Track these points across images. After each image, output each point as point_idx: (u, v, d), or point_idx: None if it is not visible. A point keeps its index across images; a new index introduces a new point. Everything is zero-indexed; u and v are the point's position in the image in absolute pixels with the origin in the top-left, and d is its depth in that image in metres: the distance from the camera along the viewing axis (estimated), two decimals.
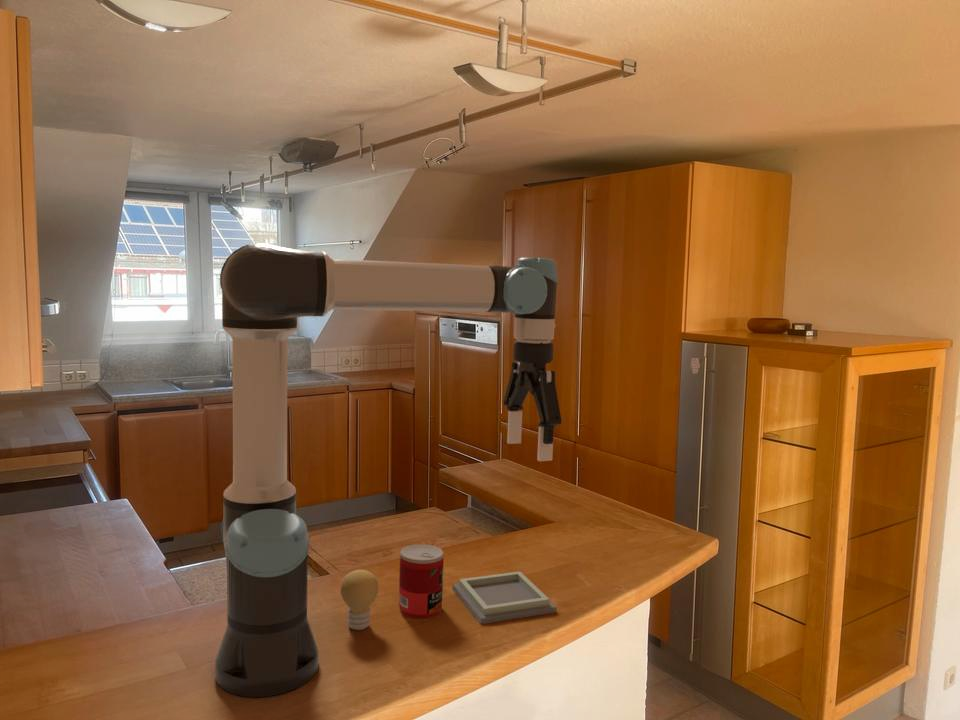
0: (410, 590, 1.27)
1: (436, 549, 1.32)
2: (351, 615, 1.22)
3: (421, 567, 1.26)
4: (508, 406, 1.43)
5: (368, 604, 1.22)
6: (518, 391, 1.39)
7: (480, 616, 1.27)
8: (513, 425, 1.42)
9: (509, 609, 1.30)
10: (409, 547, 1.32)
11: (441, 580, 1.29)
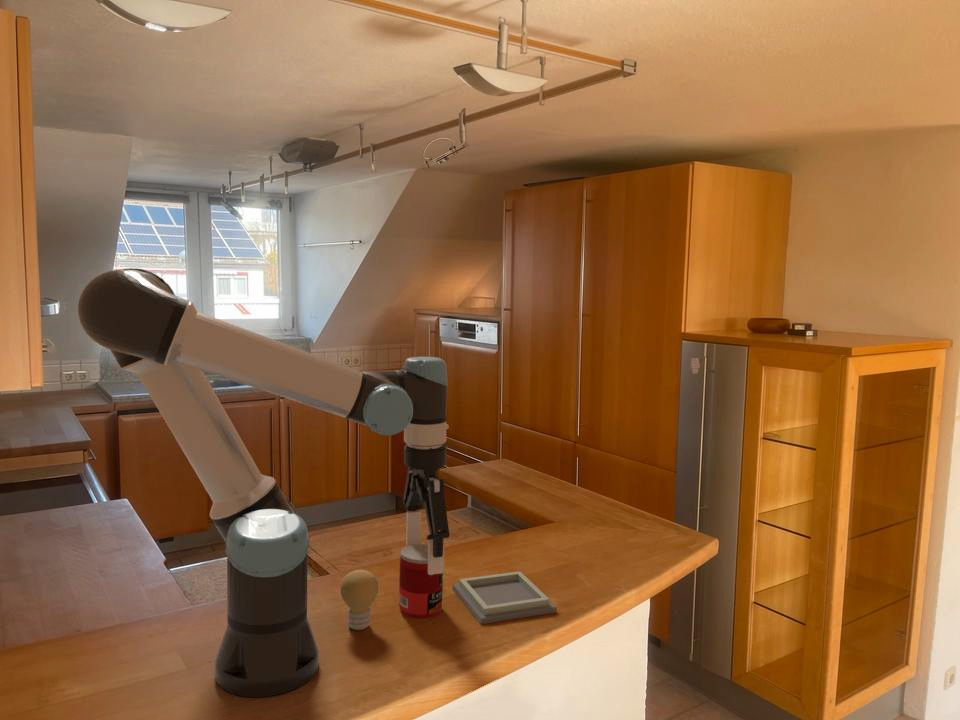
0: (410, 590, 1.27)
1: None
2: (351, 615, 1.22)
3: (421, 567, 1.26)
4: (406, 506, 1.36)
5: (368, 604, 1.22)
6: (413, 493, 1.32)
7: (480, 616, 1.27)
8: (411, 526, 1.36)
9: (509, 609, 1.30)
10: (409, 547, 1.32)
11: (441, 580, 1.29)
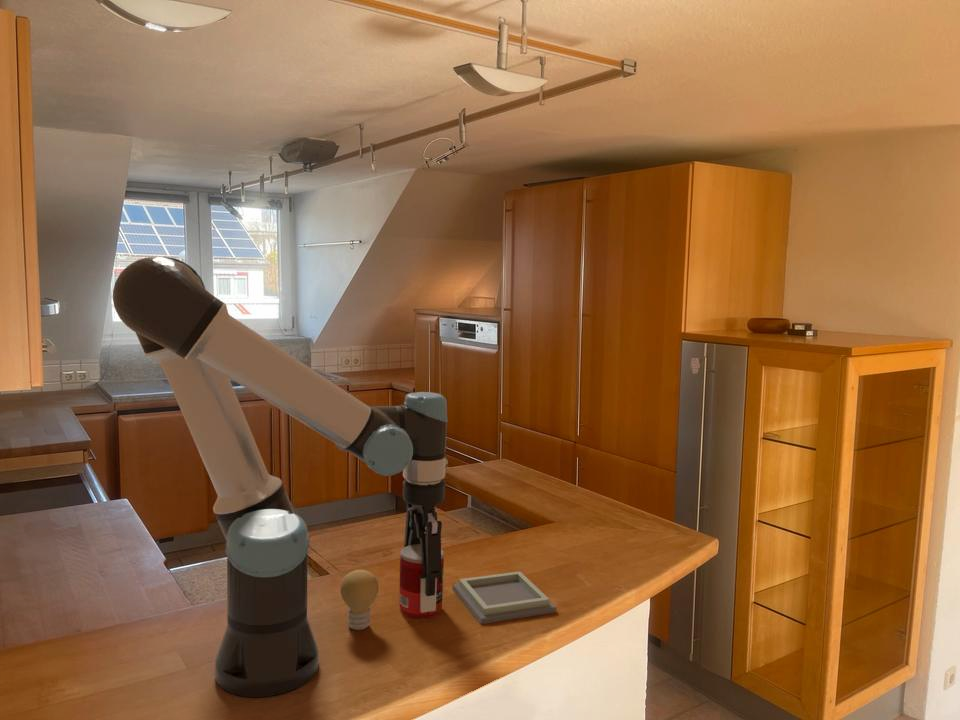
0: (410, 590, 1.27)
1: None
2: (351, 615, 1.22)
3: (421, 567, 1.26)
4: None
5: (368, 604, 1.22)
6: (413, 532, 1.32)
7: (480, 616, 1.27)
8: None
9: (509, 609, 1.30)
10: (409, 547, 1.32)
11: (441, 580, 1.29)
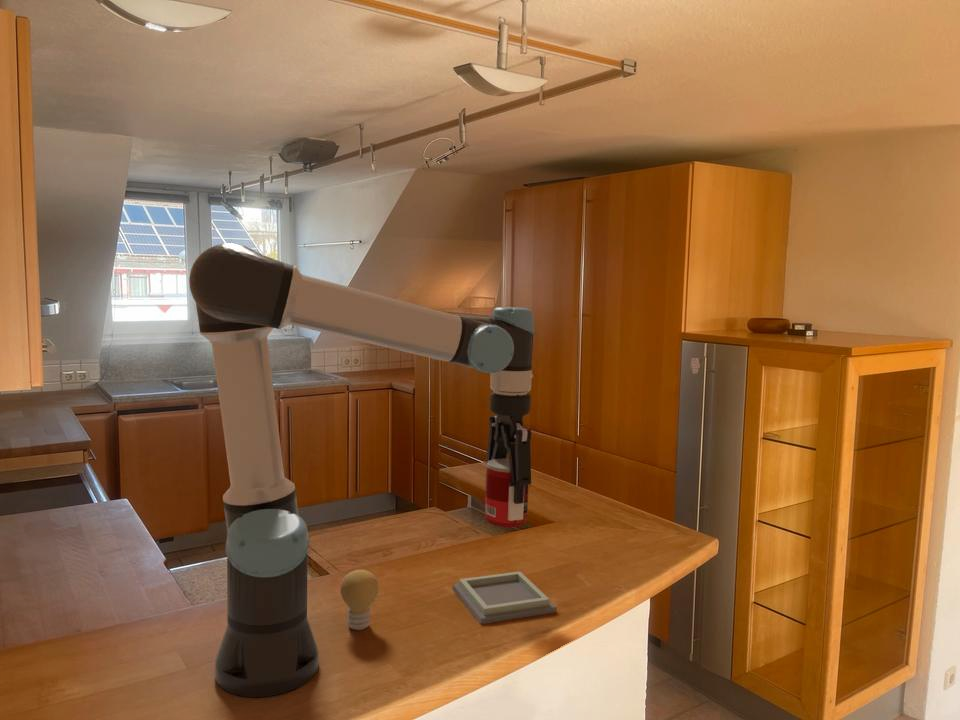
0: (498, 499, 1.30)
1: None
2: (351, 615, 1.22)
3: (509, 476, 1.29)
4: None
5: (368, 604, 1.22)
6: (498, 445, 1.35)
7: (480, 616, 1.27)
8: None
9: (509, 609, 1.30)
10: (494, 460, 1.35)
11: (527, 490, 1.32)
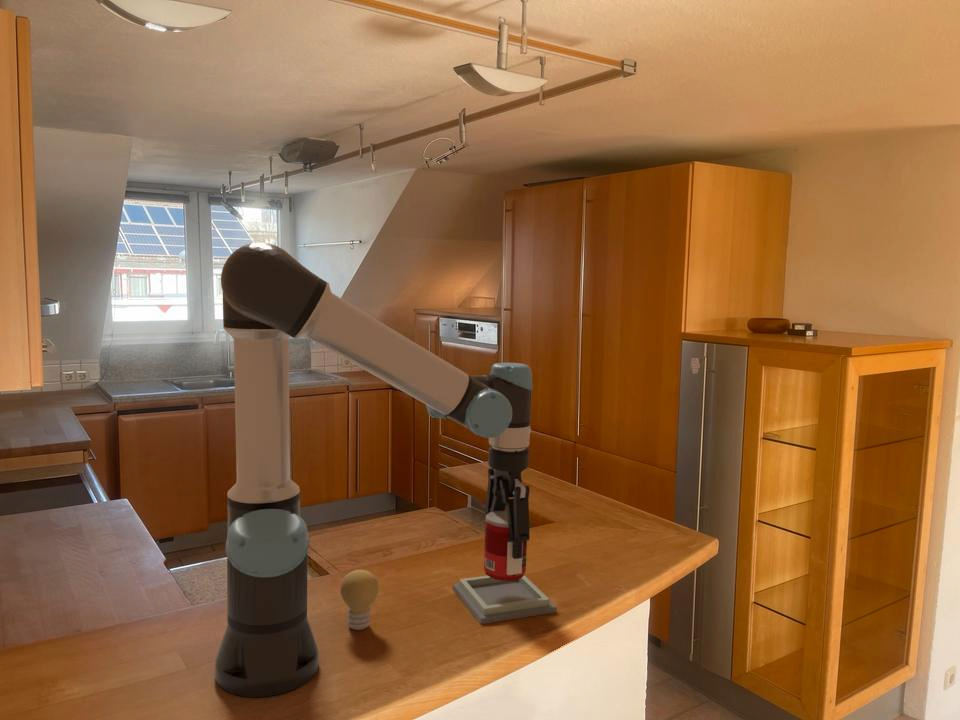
0: (497, 553, 1.32)
1: None
2: (351, 615, 1.22)
3: (508, 531, 1.31)
4: None
5: (368, 604, 1.22)
6: (497, 499, 1.36)
7: (480, 616, 1.27)
8: None
9: (509, 609, 1.30)
10: (493, 513, 1.37)
11: (526, 544, 1.34)
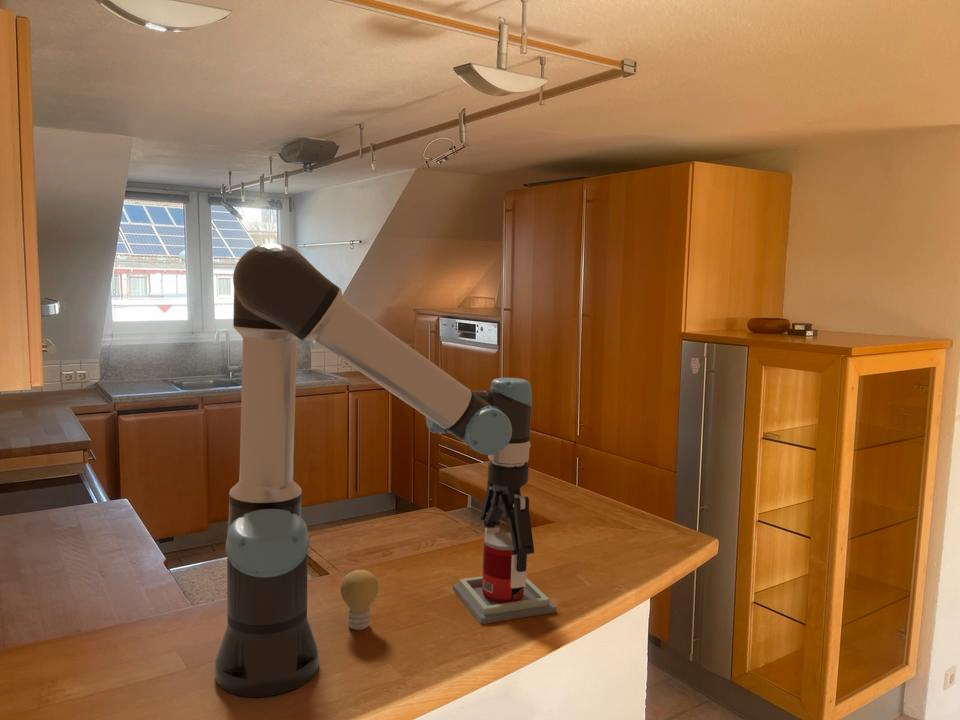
0: (495, 576, 1.32)
1: None
2: (351, 615, 1.22)
3: (506, 554, 1.31)
4: (485, 522, 1.41)
5: (368, 604, 1.22)
6: (494, 509, 1.37)
7: (480, 616, 1.27)
8: None
9: (509, 609, 1.30)
10: (491, 535, 1.37)
11: None
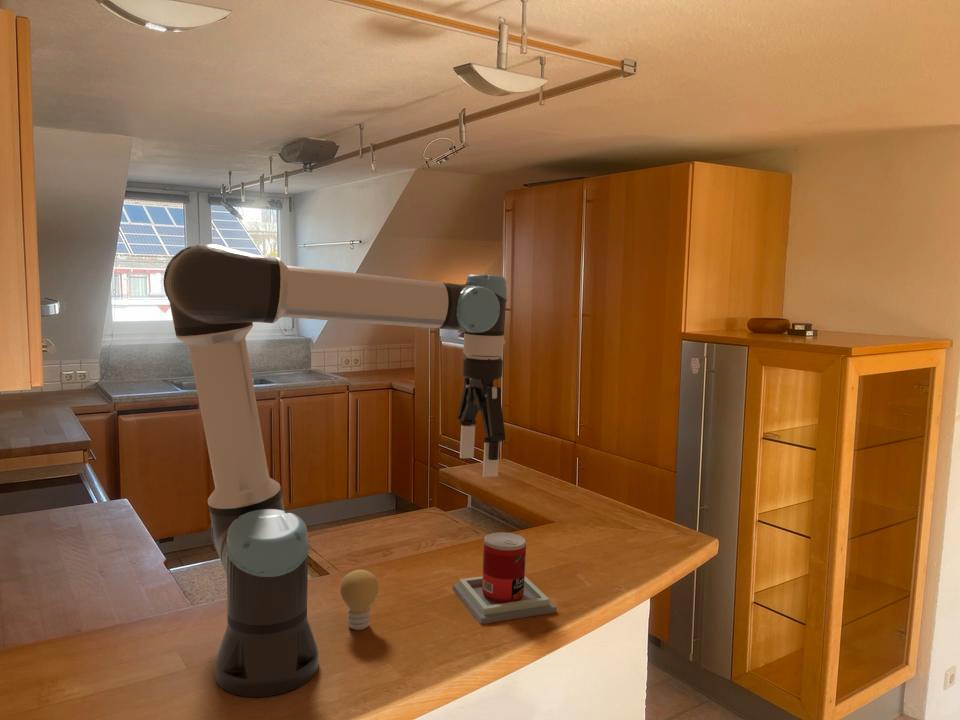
0: (495, 576, 1.32)
1: (518, 537, 1.37)
2: (351, 615, 1.22)
3: (506, 554, 1.31)
4: (461, 421, 1.44)
5: (368, 604, 1.22)
6: (469, 406, 1.40)
7: (480, 616, 1.27)
8: (465, 440, 1.43)
9: (509, 609, 1.30)
10: (491, 535, 1.37)
11: (524, 566, 1.34)
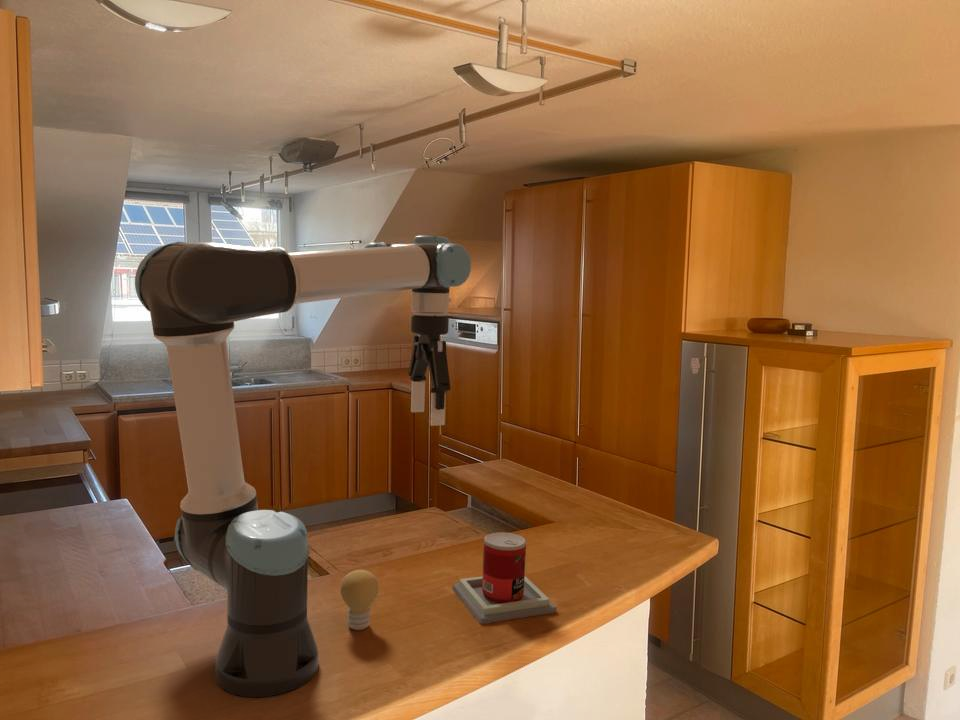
0: (495, 576, 1.32)
1: (518, 537, 1.37)
2: (351, 615, 1.22)
3: (506, 554, 1.31)
4: (411, 377, 1.52)
5: (368, 604, 1.22)
6: (418, 362, 1.48)
7: (480, 616, 1.27)
8: (416, 394, 1.52)
9: (509, 609, 1.30)
10: (491, 535, 1.37)
11: (524, 566, 1.34)
